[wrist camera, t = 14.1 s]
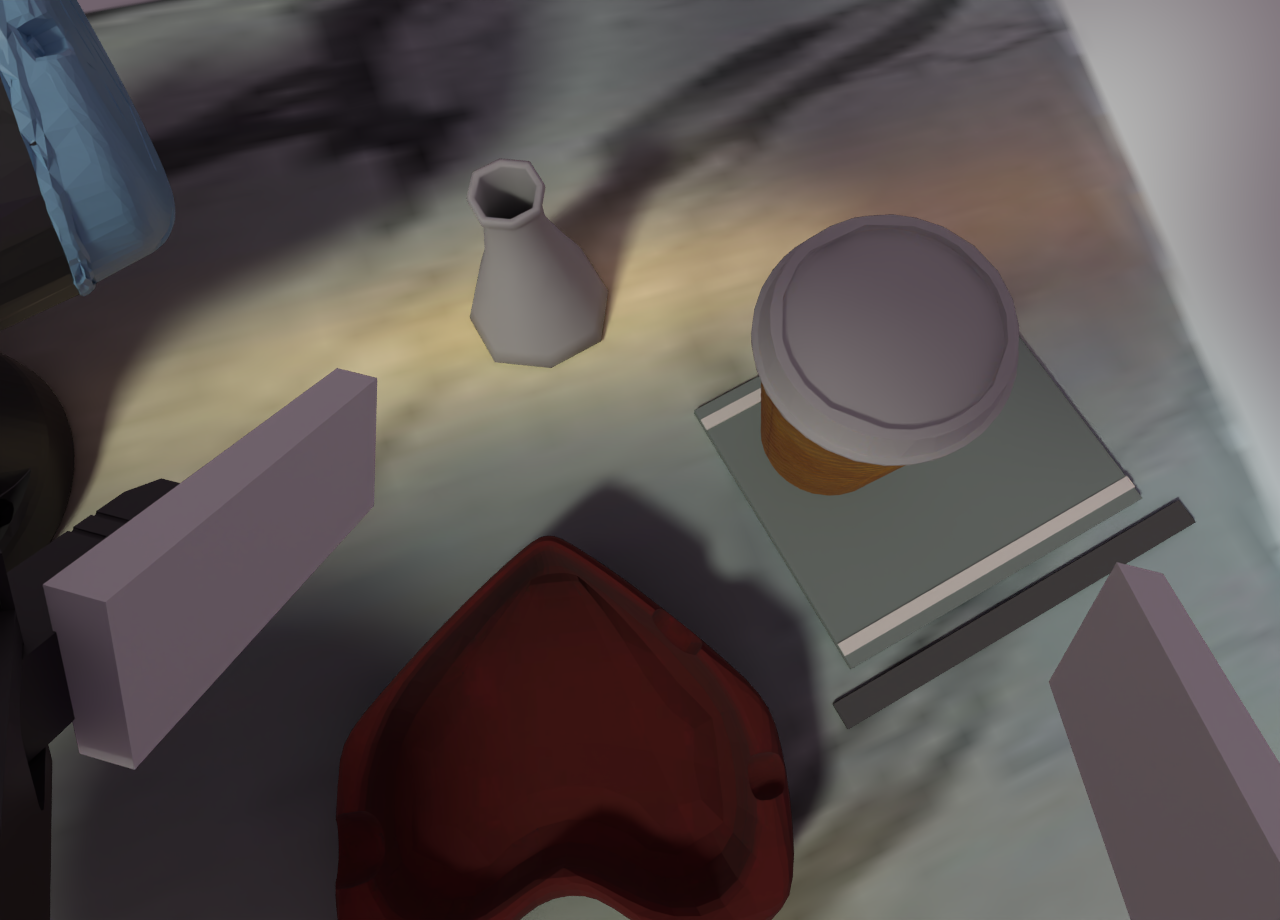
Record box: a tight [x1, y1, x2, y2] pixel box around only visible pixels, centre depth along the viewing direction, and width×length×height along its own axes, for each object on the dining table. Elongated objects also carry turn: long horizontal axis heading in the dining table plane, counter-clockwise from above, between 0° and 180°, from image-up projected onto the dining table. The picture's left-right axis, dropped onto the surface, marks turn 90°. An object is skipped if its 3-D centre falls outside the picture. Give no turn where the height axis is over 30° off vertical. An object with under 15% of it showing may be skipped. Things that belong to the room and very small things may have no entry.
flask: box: [467, 159, 608, 368], centre depth 39 cm, size 7×7×10 cm
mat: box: [694, 337, 1142, 669], centre depth 40 cm, size 14×16×1 cm
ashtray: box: [336, 536, 794, 920], centre depth 35 cm, size 18×16×5 cm
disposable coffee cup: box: [751, 215, 1019, 496], centre depth 35 cm, size 10×10×12 cm
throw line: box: [833, 500, 1195, 729], centre depth 38 cm, size 1×19×1 cm, turn 119°
